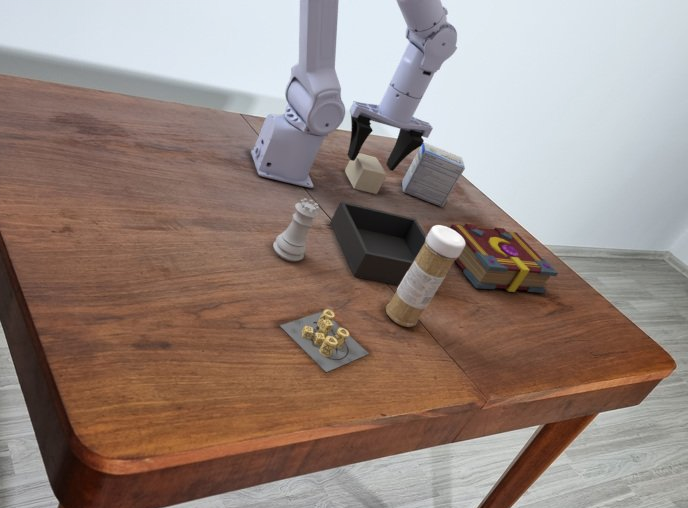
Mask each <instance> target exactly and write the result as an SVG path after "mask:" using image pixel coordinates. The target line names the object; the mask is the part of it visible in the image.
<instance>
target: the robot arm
mask: <svg viewBox="0 0 688 508" xmlns="http://www.w3.org/2000/svg"><path fill="white" fill-rule="evenodd" d="M395 1H396V3H397V5H398V8H399V10H400V12H401V15H402V18H403V20H404V21H405V24H406V28H405V38H406V40H408V44H407V45H406V47H405V51H404V52H403V55H402V56H401V59H400V61H399V63H398V65H397V67H396V69H395V71H394V73H393V75H392V78H391V80H390V82H389V84H388V86H387V88H386V90H385V92H384V95H383V97H382V99H381V101H380V103H379V104H374V103H366V102H359V101H356V100H353V101H352V104H351V106H350V108H349V111H348V112H349V114H350V120H351V121H350V123H351V130H350V131H351V133H350V142H349V146H348V151H347V154H346V155H347V156H348V158H349V161H350V160H352V161H354V160H355V159H356V157H357V156H358V153H360V151H361V149H362V147H363V145H364V143H365V142H366V140H367V139H368V137H369V136H370V135H371V133H372V132H373V131H374V130H373V128H372V126H371V124H372V123H371V122H375V123H378V124H382V125H385V126H389V127H393V128H396V129H399V132H398V135H397V139H396V141H395V143H394V146H393V148H392V150H391V152H390V155H389V156H388V157H387V158H388V159H387V161H386V164H385V166H386V167H387V168H388V169H389V171H391V172H394V171H395V170H396V168H397V167H398V166H399V165H400V164H401V162H402V161H403V160H404V159H406V157H408V156H409V155H410V154H411V153H412V152H415V150H417V149H420V147H421V145H422V144H423V143H425V142H424V141H425V140H424V138H426V139H428V138H429V137H430V135H431V133H432V131H433V129H434V128H433V126H432V125H431V124H430V122H428V121H424V120H421V119H420V118H418V117H414V115H415V113H416V111H417V109H418V107H419V105H420V103H421V101H422V99H423V97H424V95H425V94H426V92H427V90H428V88H429V85H430V83H431V82H432V80H433V78H434V75H435V73H437V72H438V71H439V70H440V69H441V67H442V66H443V64H444V62H445V61H447V60H449V58H451V57H452V56H453V55H454V54H455V52H456V51H457V49H458V46H457V42H458V33H457V32H458V31H457V29H456V27H455V26H454V25H452V24H451V23H450V22H449V21H448V18H447V15H448V14H449V12H448V9H447V8H446V7H445V6H443V4H442V1H441V0H395ZM338 13H339V0H299V21H298V23H299V26H298V27H299V28H298V30H299V31H298V62H297V63H295V64H293V65H292V66H291V67H290V77H289V80H288V82H287V84H286V86H285V91H284V96H285V100H286V102H287V103H286V107H285V112H284V113H281V114H276V113H269V114H268V115H267V116H266V118H265V119H264V121H263V123H262V126H261V129H260V131H259V135H258V136H257V139H256V142H255V144H254V147H253V149H251V150H250V154H251V157H252V160H253V163H254V166H255V169H256V172H257V174H258V176H259V177H262V178H267V179H270V180H275V181H279V182H283V183H286V184H287V183H288V184H292V185H296V186H300V187H304V188H309V189H313V188H314V187H315V185H314V184H313V181H312V179H311V176H310V172H311V170H312V167H313V165H314V163H315V160H316V159H317V157H318V154H319V151H320V149H321V147H322V145H323V143H324V140H325V138H326V137H328V136H329V134H331V133H333V132H335V131H336V130H337V129H338V128H339V127H340V126H341V124H342V123H343V121H344V119H345V117H346V106H345V104H344V101H343V100H342V87H341V84H340V81H339V77H338V74H337V71H336V53H337V35H338V17H339V14H338Z"/></svg>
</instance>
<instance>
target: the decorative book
mask: <svg viewBox="0 0 688 508" xmlns="http://www.w3.org/2000/svg"><path fill="white" fill-rule="evenodd" d="M449 228H451V229H453V230H454V231H456V232H457V233H459V234H460V235H461V236H462V237H463V239H464V240H465V247H464V249H463V250H462V252H461V254H460V255H459V257H457V259H456V260H454V262H455V263H456V264H457V265H458V266H459V267H460V268H461V270H462V273H463V274H464V276H465V277H466V279H468V280H469V282H470V283H471V284H472V285H473V286H474V287H475V288H476V289H482V290H483V289H485V290H495V289H505V290H506V291H507V292H509V293H510V292H513V293H515V292H516V291H517V290H521V291H527V292H529V293H530V292H531V293H539V294H541V293H542V294H544V293H545V292H546V291H547V288H546V287H545V286H544V285H545V284H546V283H547V282H548V280H549V279H550V277H557V276H558V275H559V272H558V271H557V270H556V268H555V267H554V266H553V265H551V264H550V262H548V261H547V259H545V258H543V257H541V255H539V253H537V251H535V250H534V249H533V247H531V246H530V244H529V243H528V242H527V241H525V240H524V238H522V237H521V235H520V234H519V233H518V232H514V231H507V230H506V229H505V228H502V227H494V228H493V229H491V228H483V227H478V226H477V225H476V224H471V223H465V224H464V225H459V224H451V225H450V227H449Z"/></svg>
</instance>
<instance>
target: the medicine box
mask: <svg viewBox="0 0 688 508" xmlns="http://www.w3.org/2000/svg"><path fill="white" fill-rule="evenodd" d="M465 169H466V167H465V163H464V160H463V158H462V156H459V155H456V154H454V153H452V152H449V151H447V150H445V149H442V148H439V147H437V146H435V145H432V144H429V143H427V142H423V144H422V145H421V146H420V147H419V148H418V151H417V152H416V154H415V156H414V158H413V160H412V162H411V164H410V166H409V167H408V169H407V171H406V173H405V175H404V177H403V179H402V182H401V185H402V187H401V188H402V193H404V194H407V195H410V196H412V197H415V198H417V199H420V200H423V201H426V202H428V203H430V204H433V205H436V206H438V207H441V208H443V207H444V206H445V204H446V202H447V200H448V198H449V196H450V195H451V194H452V192H453V189H454V188H455V187H456V185H457V183H458V181H459V179H460V178H461V176H462V174H463V172H464V171H465Z"/></svg>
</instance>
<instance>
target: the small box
mask: <svg viewBox="0 0 688 508" xmlns="http://www.w3.org/2000/svg"><path fill="white" fill-rule="evenodd" d="M344 173H345V175H346V177H347V179H348V181H349V182H350V184H351V186H352V188H353V189H354V190H357V191H362V192H365V193H366V192H367V193H369V194H374V195H378V194H379V193H378V192H379V191H380V189H381V187H382V185H383V183H384V181H385V179H386V177H387V175H388V174H387V172H386V171H385V169H384V168H383V166H382V165H381V162H380V161H379V160H378V158H377V157H376V156H373V155H369V154H366V153H365V154H364V153H361V152H359V153H358V156H357V157H356V159H355V160H354V161H352V160H350V159H349V161H348V163H347V165H346V167H345V169H344Z"/></svg>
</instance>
